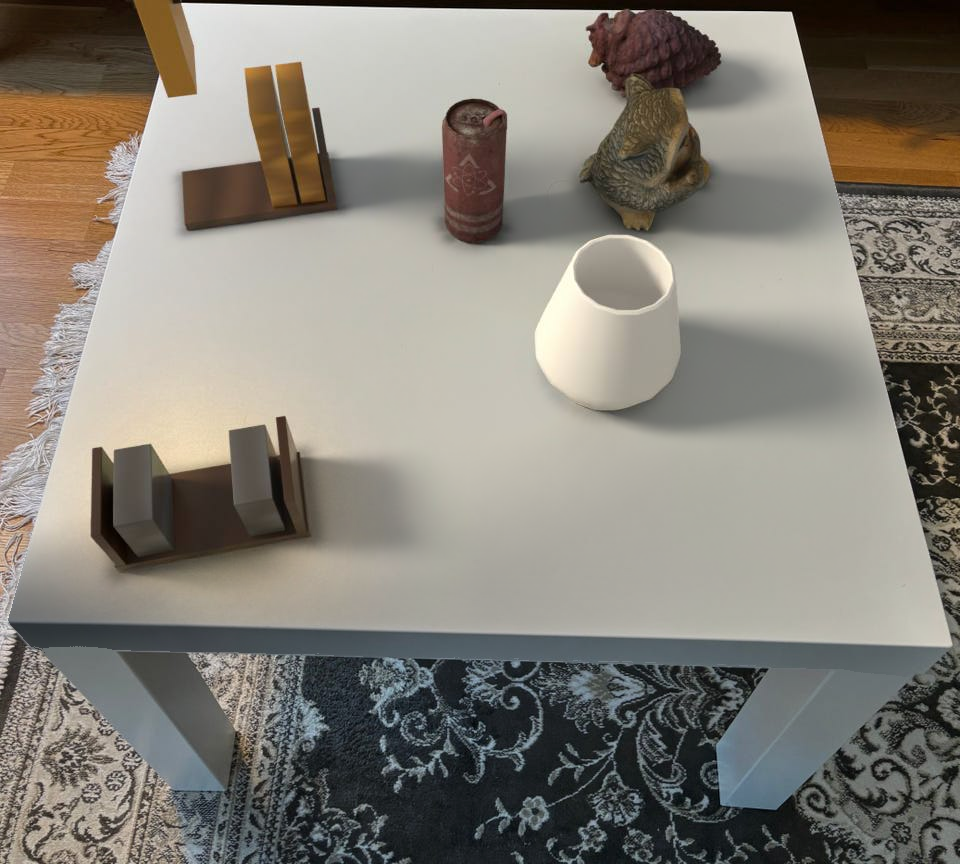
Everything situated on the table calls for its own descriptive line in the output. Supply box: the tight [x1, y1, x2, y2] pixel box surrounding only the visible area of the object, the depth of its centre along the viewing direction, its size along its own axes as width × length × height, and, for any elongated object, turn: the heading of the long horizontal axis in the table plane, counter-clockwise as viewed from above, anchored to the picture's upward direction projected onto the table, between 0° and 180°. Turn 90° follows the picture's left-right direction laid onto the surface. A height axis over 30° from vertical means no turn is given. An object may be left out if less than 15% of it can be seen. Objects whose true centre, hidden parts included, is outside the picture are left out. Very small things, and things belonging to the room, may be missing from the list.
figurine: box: [578, 74, 711, 232], centre depth 90 cm, size 14×15×15 cm
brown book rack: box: [89, 415, 312, 573], centre depth 74 cm, size 16×8×7 cm, turn 102°
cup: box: [534, 234, 682, 411], centre depth 79 cm, size 13×13×14 cm
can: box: [441, 98, 508, 245], centre depth 88 cm, size 6×6×14 cm
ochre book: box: [134, 0, 198, 99], centre depth 76 cm, size 3×7×12 cm, turn 12°
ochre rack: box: [181, 61, 339, 231], centre depth 91 cm, size 16×8×13 cm, turn 102°
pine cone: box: [585, 8, 722, 99], centre depth 103 cm, size 18×10×10 cm
